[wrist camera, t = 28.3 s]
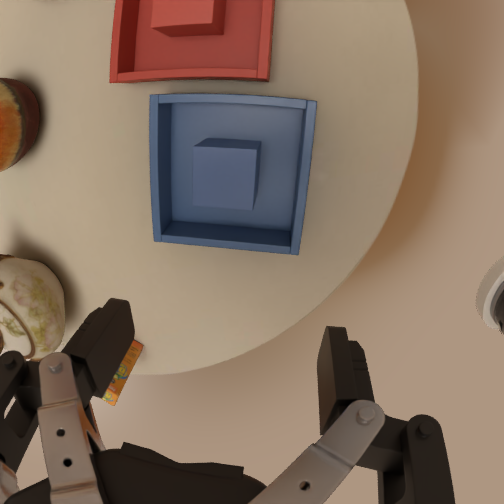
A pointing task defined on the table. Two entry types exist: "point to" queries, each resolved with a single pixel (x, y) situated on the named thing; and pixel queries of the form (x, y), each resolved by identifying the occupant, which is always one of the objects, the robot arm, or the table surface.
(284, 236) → the blue bin
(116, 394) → the supplement box
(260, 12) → the red bin
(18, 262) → the sugar bowl
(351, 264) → the table surface
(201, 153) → the blue block
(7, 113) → the vase
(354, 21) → the table surface
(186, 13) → the red block
